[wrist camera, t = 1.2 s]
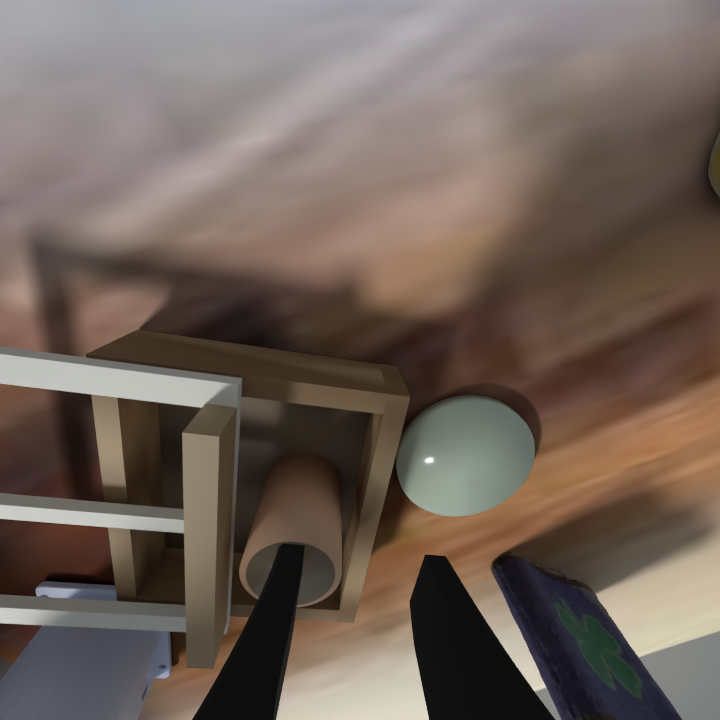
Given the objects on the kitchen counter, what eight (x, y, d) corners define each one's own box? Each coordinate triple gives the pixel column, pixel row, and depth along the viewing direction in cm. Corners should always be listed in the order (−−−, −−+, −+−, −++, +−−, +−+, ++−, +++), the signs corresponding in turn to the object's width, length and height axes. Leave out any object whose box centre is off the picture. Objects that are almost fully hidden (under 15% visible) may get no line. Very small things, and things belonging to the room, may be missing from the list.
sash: (229, 621, 18) (212, 681, 16) (-31, 608, 17) (-93, 671, 15) (242, 378, 13) (220, 410, 11) (-132, 329, 12) (-254, 354, 9)
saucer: (502, 511, 22) (508, 521, 21) (382, 500, 21) (384, 510, 20) (547, 404, 19) (556, 411, 18) (411, 385, 18) (414, 392, 17)
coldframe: (351, 566, 23) (353, 622, 19) (152, 552, 21) (118, 610, 18) (397, 366, 18) (410, 397, 14) (137, 329, 16) (86, 354, 13)
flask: (597, 587, 25) (767, 824, 15) (570, 610, 26) (713, 849, 16) (505, 545, 23) (630, 788, 13) (478, 572, 24) (577, 819, 14)
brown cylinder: (335, 515, 20) (334, 612, 15) (263, 509, 20) (236, 607, 15) (347, 457, 19) (349, 542, 14) (269, 448, 18) (240, 534, 13)
